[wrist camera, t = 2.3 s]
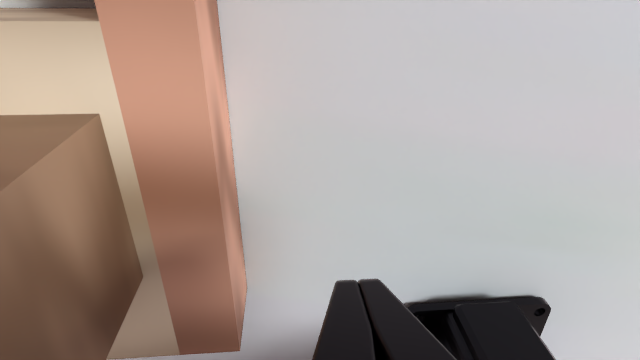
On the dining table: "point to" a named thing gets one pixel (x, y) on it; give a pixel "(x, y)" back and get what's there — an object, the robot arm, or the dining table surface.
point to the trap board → (148, 152)
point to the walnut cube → (61, 240)
